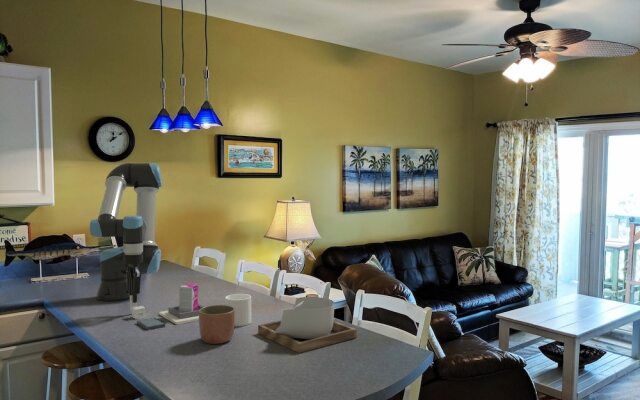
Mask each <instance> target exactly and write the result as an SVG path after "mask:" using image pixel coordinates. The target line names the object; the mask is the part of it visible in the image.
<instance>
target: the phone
mask: <svg viewBox="0 0 640 400" xmlns="http://www.w3.org/2000/svg"><path fill="white" fill-rule="evenodd" d="M136 324H137V325H138V326H140V327H141V328H143V329H144V330H146V331H150V330H155V329H160V328H161V329H162V328H165V327H166V323H164V322H162V321H161V320H159V319H157V318H156V317H151V318H145V319H141V320H140V319H138V320H136Z"/></svg>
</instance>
